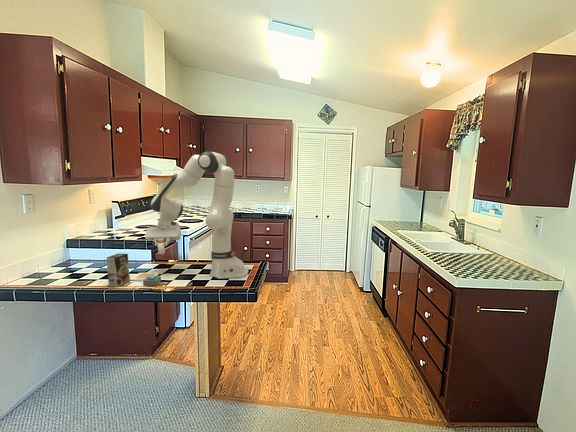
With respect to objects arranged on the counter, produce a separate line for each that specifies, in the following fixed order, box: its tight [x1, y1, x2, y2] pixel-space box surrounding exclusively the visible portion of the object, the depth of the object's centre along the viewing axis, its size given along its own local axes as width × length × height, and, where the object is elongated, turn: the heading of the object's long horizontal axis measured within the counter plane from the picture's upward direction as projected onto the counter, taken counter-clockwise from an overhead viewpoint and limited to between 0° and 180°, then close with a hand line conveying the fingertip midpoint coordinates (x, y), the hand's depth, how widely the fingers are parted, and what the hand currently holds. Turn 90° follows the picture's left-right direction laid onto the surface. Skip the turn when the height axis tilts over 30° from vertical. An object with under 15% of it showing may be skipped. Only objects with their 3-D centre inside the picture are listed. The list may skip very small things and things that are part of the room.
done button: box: [148, 275, 156, 280], centre depth 171 cm, size 4×4×2 cm
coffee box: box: [106, 253, 131, 288], centre depth 171 cm, size 9×6×16 cm
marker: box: [156, 238, 166, 255], centre depth 183 cm, size 4×4×9 cm
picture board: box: [130, 272, 161, 282], centre depth 182 cm, size 12×12×1 cm
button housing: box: [142, 275, 162, 287], centre depth 171 cm, size 7×7×3 cm
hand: (160, 245), depth 182 cm, fingers closed on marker, 4 cm apart
